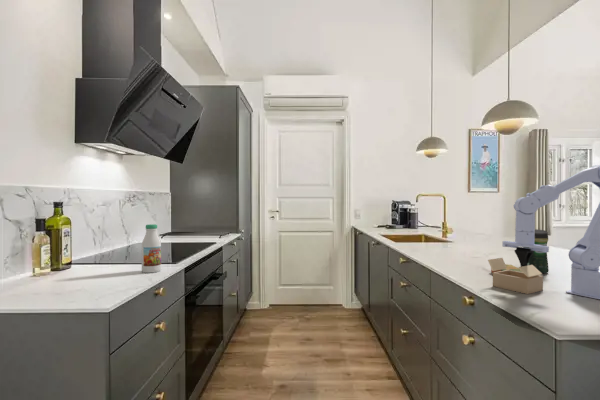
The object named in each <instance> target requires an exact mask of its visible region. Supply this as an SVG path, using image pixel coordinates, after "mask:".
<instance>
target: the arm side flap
mask: <svg viewBox="0 0 600 400" xmlns="http://www.w3.org/2000/svg"><path fill="white" fill-rule="evenodd" d="M518 268H519V269H520V270H521V271H522V272H523V273H524V274H525V275H526V276H527V277H533V276H538V275H540V276H543V273H541V272H540V271H539V270H538V269H536V268H535V267H534V266H533V265H528V266H522V267H521V266H518Z"/></svg>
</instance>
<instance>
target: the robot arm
mask: <svg viewBox="0 0 600 400" xmlns="http://www.w3.org/2000/svg"><path fill="white" fill-rule="evenodd" d="M584 183H592V184H593V185H595V186H596V187H598V188H599V190H600V164H595V165H593V166H591V167H588V168H584V169H582V170H580V171H577V173H576V172H575V173H574V174H573V175H571V176H569V177H567V178H565V179H564V180H562V181H560V182H558V183H557V184H555V185H551V184H546V185H545V184H542V185H540V186H539V188H538V189H536V190H535V191H533V192H531V193H530V192H527V193H526V194H525V195H526V196H523V197H522V196H521V197H518V198H517V199H516V200H515V202H514V204H513V208H514V210H515V229H514V230H515V234H514V237H515V238H514V239H515V240H514V241H508V240H503V241H502V247H504V248H512V249H513V248H514V253H515V255H516V257H517V259H518V261H519V264H520V267H522V266H527V264H528V261H529V259H530V257H531V256H532V254H533V253H534V251H541V252H547V253H549V252H550V251H549V250H550V246H548V245H547V246H543V245H537V244H534V238H535V229H536V213H537V211H538V209H540V208H543V207H544V206H546V205H548V204H550V203H552V202H555V201H556V200H558V199H559V197H560V194H562V193H565V192H566V191H569V190H571V189H574V188H575V187H577V186H579V185H582V184H584ZM524 247H529V248H524ZM532 248H533V249H532ZM533 250H534V251H533ZM568 258H569V260H570V262H571V265H570V268H571V270H570V271H571V272H570V277H571V279H570V280H571V281H570V283H571V284H570V289H568V290H565V293H567V294H572V295H577V296H581V297H586V298H591V299H595V300H600V202H599V203H598V206H597V208H596V209H595V211H594V214H593V216H592V218H591V220H590V222H589V225H588V226H587V228H586V231H585V233H584V235H583V237H582V238H580V239H579V240H578V241H576V244H575V245H574V246H573V247H572V248H571V249H570V250H569V251H568Z"/></svg>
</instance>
